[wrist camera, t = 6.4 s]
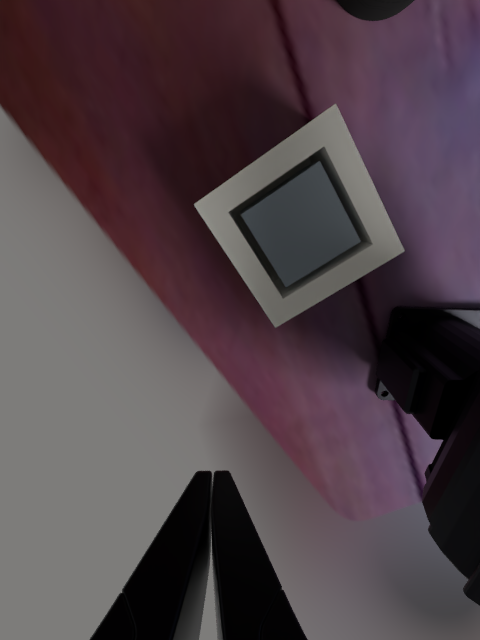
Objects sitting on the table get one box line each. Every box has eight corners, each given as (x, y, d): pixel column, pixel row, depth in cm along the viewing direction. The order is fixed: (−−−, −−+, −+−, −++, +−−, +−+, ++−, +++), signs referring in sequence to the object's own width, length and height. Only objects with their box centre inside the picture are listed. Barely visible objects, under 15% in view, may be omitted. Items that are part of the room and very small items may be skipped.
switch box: (313, 123, 17) (335, 103, 13) (372, 239, 19) (405, 251, 15) (202, 201, 18) (193, 204, 15) (268, 303, 20) (275, 328, 17)
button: (306, 166, 17) (320, 161, 14) (341, 234, 18) (361, 241, 15) (240, 211, 18) (240, 214, 15) (278, 273, 19) (285, 287, 16)
